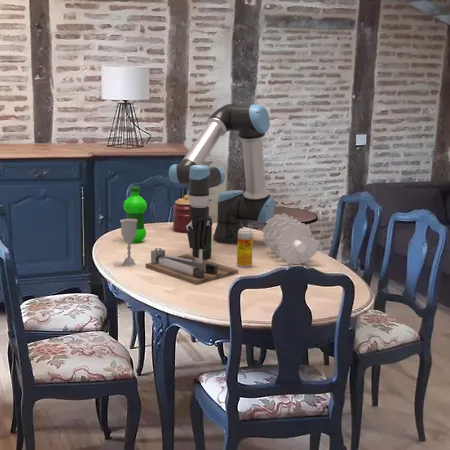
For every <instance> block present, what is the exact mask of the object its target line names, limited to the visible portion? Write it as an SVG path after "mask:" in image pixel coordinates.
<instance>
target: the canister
mask: <svg viewBox="0 0 450 450" xmlns="http://www.w3.org/2000/svg"><path fill="white" fill-rule="evenodd" d="M174 203H175V204H174V205H173V206H172V208H173V213H172V215H173V216H172V217H173V219H172V220H173V221H172V222H173V224H172V230H173V231H174V232H176V233H181V234H182V233H183V234H184V233H185V234H187V231H186V229H185V225H188V224H189V223H190V218H191V217H190V215H189V207H190V206H191V205H190V204H189V195H188V194H184V195H183V198H178V199H177V200H175V201H174Z"/></svg>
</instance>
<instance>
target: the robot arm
mask: <svg viewBox="0 0 450 450" xmlns="http://www.w3.org/2000/svg"><path fill="white" fill-rule="evenodd" d="M270 123H271V121H270V115H269V112H268V110H267V108H266V106H264V105H260V104H255V103H250V104H247V103H228V104H225V105H223V106H221V107H219V108H218V109H216V110H215V111H214V112H213V113H212V114H211V115H210V116H209V117H208V119H207V120H206V122H205V127H204V129H202V131H201V133H200V134H199V135H198V137H197V138H196V140H195V142H194V143H193V145H192V146H191V147H190V149H189V150H188V152H187V153H186V155H185V156H184V158H183V159H182V160H181V161H180V163H179V164H178V163H174V164H172V165H171V166H170V167H169V168H168V169H169V170H168V177H169V180H170V182H172V183H175V184H180V185H181V184H182V185H188V186H189V195H188V196H189V204H190V205H191V206H190V207H189V215H190V217H191V218H190V223H189V224H188V225H185V229H186V231H187V233H186V235H187V240H188V244H189V245H188V246H189V248H190V249H191V250H192V249H194V257H195V261H199V262H202V256H203V249H205V248H206V247H205V246H207V245H208V240H209V235H210V230H211V226H212V227H213V223H214V222H213V221H212V222H210V221H209V220H208V217H207V216H208V215H209V216H210V207H209V205H210V189H211V188H215V187H219V186H220V185H223V183H224V182H225V180H226V172H225V171H224V169H223V168H221V167H219V166H212V167H209V165H207V164H206V165H205V164H203V163H204V162H205V161H206V159H207V158H208V156H209V154H210V153H211V151H213V149H214V148H215V145H216V144H217V142H218V141H219V139H220V138H221V137H223V136H225V135H226V133H228V132H231V131H232V132H237V135H238V138H239V139H240V140H241V142H242V154H243V164H244V166H243V167H244V174H245V175H244V177H245V189H246V190H245V191H243V190H242V189H241V190H238V189H237V190H235V189H234V190H225V191H222V192H220V193H219V194H218V195H217V196H218V197H217V223H216V227H215V230H214V233H213V235H212V236H213V237H212V238H213V239H212V240H213V241H214V242H215V243H220V244H227V245H228V244H229V245H232V244H238V231H239V229H242V228H244V224H243V221H248V222H253V223H254V222H255V223H266V221H268V220H270V219H272V218H273V216H274V213H275V208H276V200H275V198H273V197H272V196H270V191H269V190H268V189H266V176H265V175H266V174H265V164H264V162H265V161H264V147H263V138H265V136H266V133H268V130H269V128H270ZM266 224H267V223H266Z"/></svg>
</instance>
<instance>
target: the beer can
mask: <svg viewBox="0 0 450 450" xmlns="http://www.w3.org/2000/svg"><path fill="white" fill-rule="evenodd" d="M253 242H254V231H253V229H251V228H247V227H245V228H244V227H243V228H242V229H239V231H238V243H237V250H236V251H237V252H236V253H237V254H236V258H237V259H236V265H237V266H238V267H240V268H250V267H251V266H252V265H253V249H254V248H253Z"/></svg>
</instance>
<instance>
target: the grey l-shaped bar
mask: <svg viewBox="0 0 450 450" xmlns="http://www.w3.org/2000/svg"><path fill="white" fill-rule="evenodd" d="M164 256H166V250H165V249H162V248H160V247H156V248H155V249H154V250H151V251H150V263H152V264H155V265H156V264H159V266H162V267H165V268H168V269H171V270H174V271H177V272H181V273H184V274H187V275H190V276H193V277H196V278H199V279H202V278H204V270H202V269H199V268H196V267H192V266H189V265H186V264H183V263H180V262H176V261H173V260H170V259H167V258H164Z"/></svg>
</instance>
